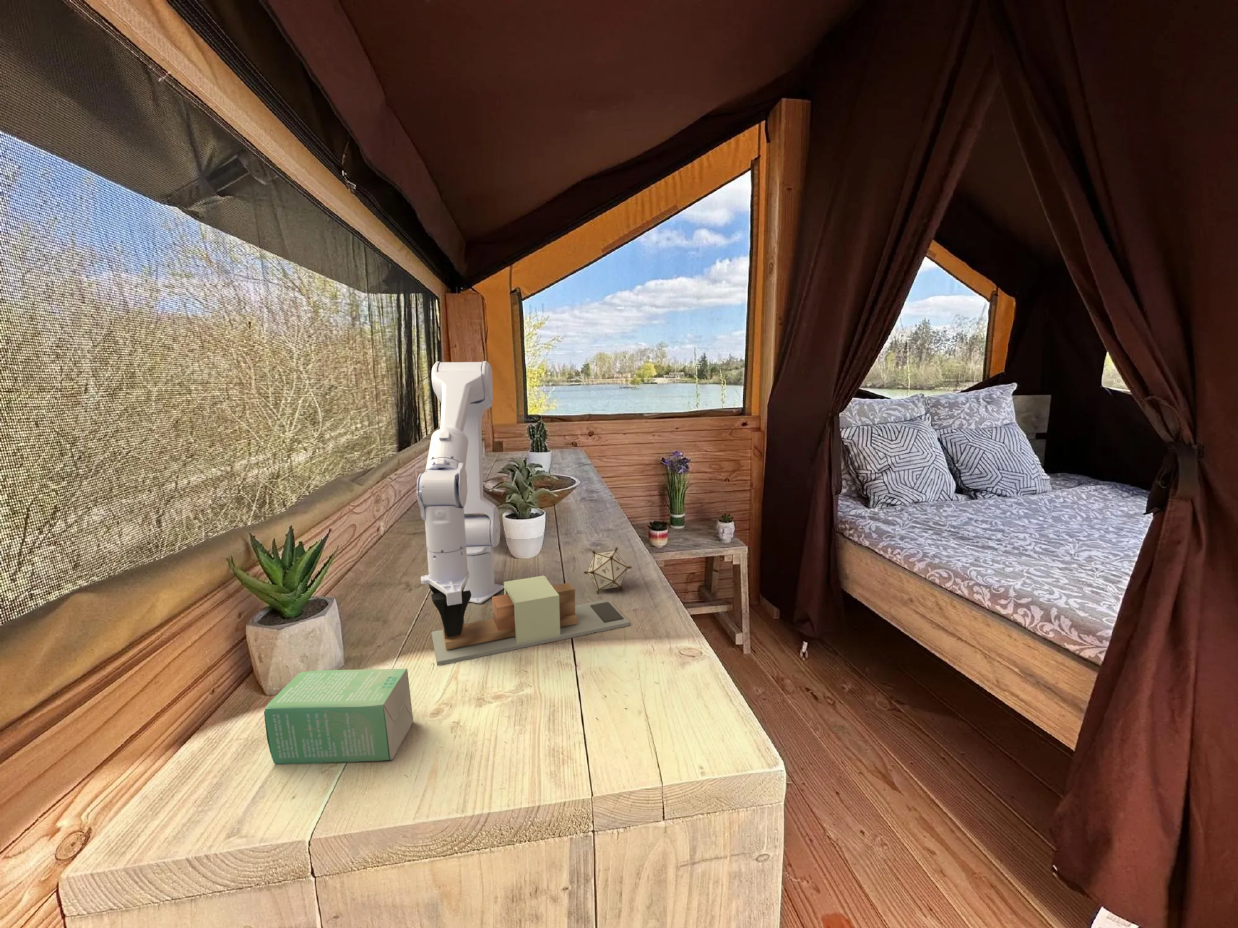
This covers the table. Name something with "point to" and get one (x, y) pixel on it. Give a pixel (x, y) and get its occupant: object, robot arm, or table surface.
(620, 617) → the pit
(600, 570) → the game die
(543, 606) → the tunnel
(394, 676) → the box
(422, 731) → the table surface
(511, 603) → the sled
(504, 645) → the track board
